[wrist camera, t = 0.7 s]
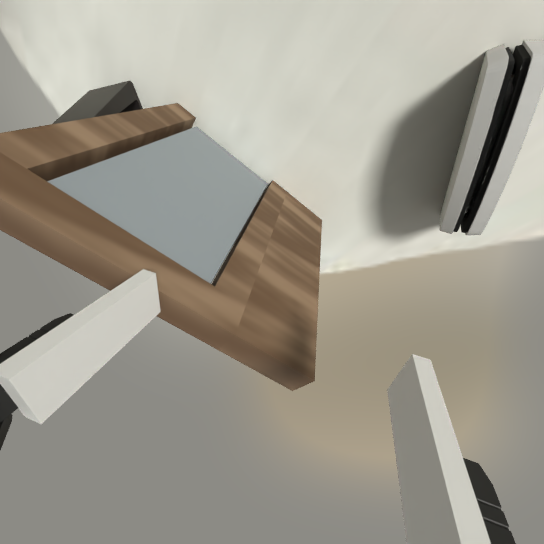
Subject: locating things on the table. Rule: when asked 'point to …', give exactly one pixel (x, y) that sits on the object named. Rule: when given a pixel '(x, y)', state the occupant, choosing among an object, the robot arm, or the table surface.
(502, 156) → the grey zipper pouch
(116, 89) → the phone stand
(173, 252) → the door
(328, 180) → the table surface
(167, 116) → the door frame
